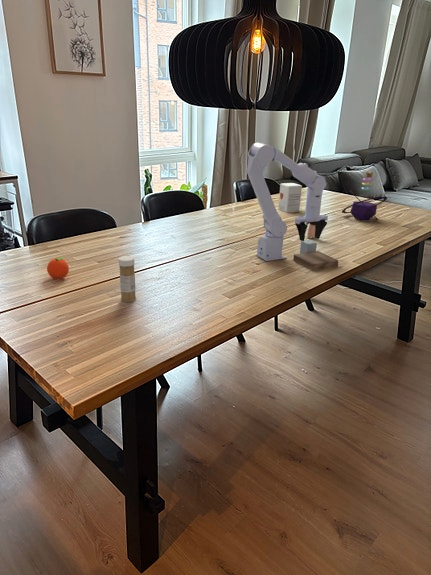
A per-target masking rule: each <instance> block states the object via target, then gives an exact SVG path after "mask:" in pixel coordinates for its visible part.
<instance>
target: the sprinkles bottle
mask: <svg viewBox="0 0 431 575" xmlns="http://www.w3.org/2000/svg"><path fill="white" fill-rule="evenodd" d="M118 265H119V284H120V296H121V298H120V300H121V301H122V302H124V303H132V302H134V301H136V300H137V297H136V275H135V274H136V273H135V257H133V256H130V255H124V256H120V257H119V258H118Z"/></svg>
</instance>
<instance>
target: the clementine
mask: <svg viewBox="0 0 431 575" xmlns="http://www.w3.org/2000/svg"><path fill="white" fill-rule="evenodd" d="M66 260H67V261H66ZM46 270H47V273H48V275H49V277H50V278H52V279H54V280H61V279H64V278H65V277H67V275H68V274H69V270H70V267H69V264H68V259H67V258H64V257H58V258H53V259H51V260H50V261H49V262H48V263H47V266H46Z"/></svg>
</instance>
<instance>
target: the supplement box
mask: <svg viewBox="0 0 431 575" xmlns="http://www.w3.org/2000/svg"><path fill="white" fill-rule="evenodd" d="M302 190H303V185H301V184H298V183H294V182H284V183H280V186H279V197H278V208H277V209H278V211H281V212H283V211H284V212H283V213H286V214H289V213H290V214H291V213H298V212H300V206H301V197H302Z"/></svg>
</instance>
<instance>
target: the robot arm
mask: <svg viewBox="0 0 431 575" xmlns="http://www.w3.org/2000/svg"><path fill="white" fill-rule="evenodd" d="M247 156H248V158H247V166H246V168H247V169H246V173H247V175H248V180H249V181H250V184H251V186H252V189H253V191H254V194H255V197H256V198H257V202H258V204H259V206H260V209H261V211H262V219H263V228H264V229H265V232H264V235H263V236H260V237H259V238H258V240H257V249H256V250H257V251H256V254H255V255H256V257H259V258H260V259H261V260H264V261H266V262H270V261H275V260H284V259H287V256H285V255H283V247H284V246H283V245H284V236H285V235H286V233H287V232H288V231H287V230H288V226H287V223H286V222H285V221H283V219H282V216H281V215H280V214H279V212H278V211H277V208H276V206H275V203H274V200H273V198H272V195H271V193H270V190H269V187H268V185H267V183H266V179H265V176H264V173H263V172H264V170H265V169H266V167H267V166H268V165H269V164H270V163H271V162H277V163H279V164H280V165H282V166H283V167H285V168H287V169H288V170H290V171H291V174H292V177H294V178H295V179H297V180H298V181H300V182H301V183H302V184H304V185H305V186H306V187H307V191H306V192H307V193H306V199H305V200H306V201H305V209H304V215H303V216H300V217H295V219H294V223H295V227H296V229H297V232H298V240H299V241H300V242H301V241H304V240H306V232H307V230H308V228H309V224H308V225H306V222H315V238H316V239H317V240H320V238H321V236H322V233H323V231H324V230H325V227H326V226H328V222H327V221H328V219H329V216H328V215H326V214H320V213H321V206H322V197H323V192H324V189H325V188H326V186H327V182H326V179H325V177H324V176H323V175H319V174H318V171H317V170H313V169H312V168H310V167H309V164H308V163H305V162H304V163H303V162H299V163H297V162H296V161H294V160H293V159H291V157H289V156H288V155H287V154H285V153H283V151H281V150H280V149H278V148H277V147H273V146H272V145H270V144H269V143H267V144H265V143H262V142H260V141H259V142H255V143H253V144H252V145H251V146H250V148H249V150H248V151H247Z"/></svg>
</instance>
